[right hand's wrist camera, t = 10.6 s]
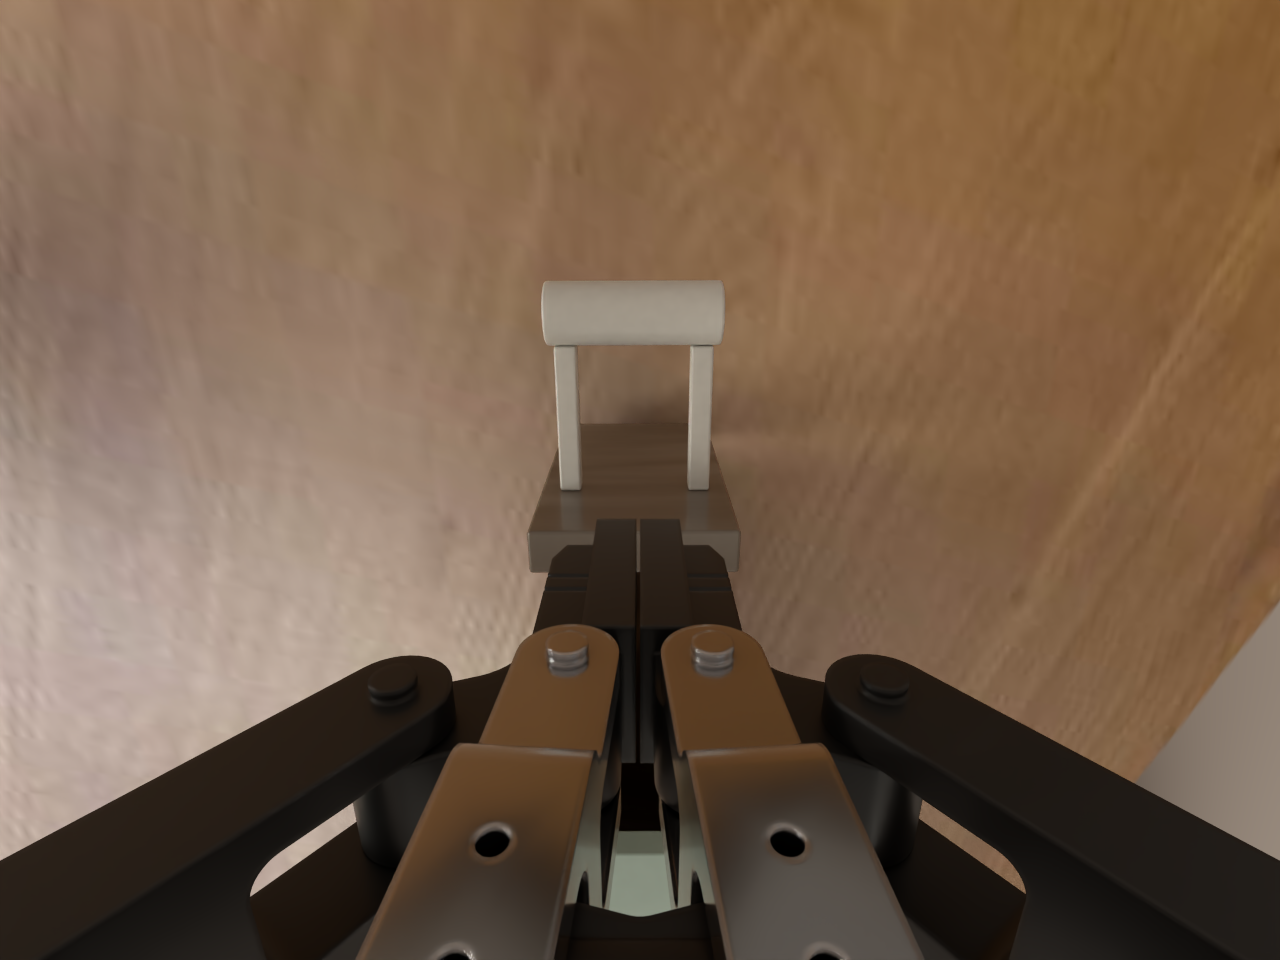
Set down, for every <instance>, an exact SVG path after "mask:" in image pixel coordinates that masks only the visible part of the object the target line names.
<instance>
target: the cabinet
mask: <svg viewBox="0 0 1280 960" xmlns="http://www.w3.org/2000/svg"><path fill="white" fill-rule="evenodd" d="M609 910H611V911H615V912H619V913H622V914H626V915H631V916H649V915H654V914H658V913H661V912H665V911H669V910H671V905H670V897H669V889H668V881H667V873H666V865H665V857H664V849H663V841H662V833H661V831H619V833H618V841H617V849H616V857H615V865H614V873H613V881H612V889H611V897H610V905H609Z"/></svg>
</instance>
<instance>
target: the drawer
mask: <svg viewBox="0 0 1280 960" xmlns="http://www.w3.org/2000/svg"><path fill="white" fill-rule="evenodd" d="M541 313H542V327H543V335H544V339H545V342H546V344H547V345H556V346H555V347H554V366H555V386H556V407H557V427H558V449H557V452H556V455H555V458H554V460H553V463H552V466H551V469H550V471H549V474H548V477H547V480H546V482H545V485H544V488H543V491H542V494H541V496H540V499H539V502H538V505H537V507H536V510H535V513H534V516H533V519H532V521H531V524H530V527H529V530H528V532H527V540H528V555H529V569H530V571H531V572H549V569H550V565H551V561H552V558H553V557H554V556H555V555H557V554H558V553H559V552H560V551H561V550H562V549H563V548H564V547H565V546H567V545H593V542H594V535H595V528H596V521H597V518H636V520H637V646H636V763H621V817H620V825H619V831H661V825H660V817H659V794H658V792H657V790H656V787H655V780H654V763H640V519H680V525H681V532H682V540H683V545H710V546H711V547H712V548H713V549H714V550H715V551H716V552H718V553H719V554H720V555H721V556H722V557H723V558H724V560H725V564H726V568H727V572H737V571H738V569H739V557H740V539H741V532H740V529H739V526H738V523H737V520H736V516H735V513H734V510H733V507H732V504H731V501H730V498H729V495H728V492H727V489H726V485H725V482H724V479H723V476H722V473H721V470H720V467H719V464H718V461H717V457H716V454H715V451H714V448H713V445H712V442H711V413H712V385H713V357H714V348H713V346H712V345H719V344H721V342H722V339H723V334H724V325H725V290H724V285H723V282H722V281H721V280H596V281H545V282H544V284H543V288H542V298H541ZM577 345H690V379H689V423H688V424H580V402H579V375H578V347H577Z"/></svg>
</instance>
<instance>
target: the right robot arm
mask: <svg viewBox="0 0 1280 960" xmlns="http://www.w3.org/2000/svg"><path fill="white" fill-rule="evenodd" d="M636 646H637V520H636V518H597V521H596V528H595V535H594V542H593V545H567V546H565V547H564V548H563V549H562V550H561V551H560V552H559V553H558V554H557V555H555V556H554V557H553V558H552V561H551V565H550V569H549V573H548V577H547V580H546V584H545V591H544V592H543V596H542V600H541V604H540V608H539V611H538V615H537V619H536V623H535V627H534V631H533V634H532V635H530V636H529V637H528V638H526V639H525V640H524V641H523V642H522V643H521V644H520V645H519V647H518V649H517V651H516V653H515V656H514V658H513V661H512V663H511V664H509V665H508V666H506V667H504V668H502V669H499V670H497V671H494V672H492V673H489V674H485V675H481V676H477V677H472V678H468V679H463V680H458V681H453V682H452V676H451V673H450V671H449V669H448V668H447V667H446V666H445V665H444V664H443V663H441V662H439V661H437V660H435V659H432V658H429V657H423V656H399V657H393V658H389V659H385V660H381V661H378V662H376V663H373V664H371V665H368V666H366V667H364V668H362V669H360V670H358V671H357V672H355V673H353V674H351V675H349V676H347V677H345V678H343V679H341V680H340V681H338V682H336V683H334V684H332V685H330V686H328V687H326V688H325V689H323V690H321V691H319V692H317V693H315V694H313V695H311V696H309V697H308V698H306V699H304V700H302V701H300V702H298V703H296V704H294V705H293V706H291V707H289V708H287V709H285V710H283V711H281V712H279V713H277V714H276V715H274V716H272V717H270V718H268V719H266V720H264V721H262V722H261V723H259V724H257V725H255V726H253V727H251V728H249V729H247V730H245V731H244V732H242V733H240V734H238V735H236V736H234V737H232V738H230V739H229V740H227V741H225V742H223V743H221V744H219V745H217V746H215V747H213V748H212V749H210V750H208V751H206V752H204V753H202V754H200V755H198V756H197V757H195V758H193V759H191V760H189V761H187V762H185V763H183V764H181V765H180V766H178V767H176V768H174V769H172V770H170V771H168V772H166V773H165V774H163V775H161V776H159V777H157V778H155V779H153V780H151V781H149V782H148V783H146V784H144V785H142V786H140V787H138V788H136V789H134V790H133V791H131V792H129V793H127V794H125V795H123V796H121V797H119V798H117V799H116V800H114V801H112V802H110V803H108V804H106V805H104V806H102V807H101V808H99V809H97V810H95V811H93V812H91V813H89V814H87V815H85V816H84V817H82V818H80V819H78V820H76V821H74V822H72V823H70V824H69V825H67V826H65V827H63V828H61V829H59V830H57V831H55V832H53V833H52V834H50V835H48V836H46V837H44V838H42V839H40V840H38V841H37V842H35V843H33V844H31V845H29V846H27V847H25V848H23V849H21V850H20V851H18V852H16V853H14V854H12V855H10V856H8V857H6V858H5V859H3V860H1V861H0V960H1280V861H1279V860H1277V859H1275V858H1274V857H1272V856H1270V855H1268V854H1266V853H1264V852H1262V851H1260V850H1259V849H1257V848H1255V847H1253V846H1251V845H1249V844H1247V843H1245V842H1243V841H1241V840H1240V839H1238V838H1236V837H1234V836H1232V835H1230V834H1228V833H1226V832H1225V831H1223V830H1221V829H1219V828H1217V827H1215V826H1213V825H1211V824H1210V823H1208V822H1206V821H1204V820H1202V819H1200V818H1198V817H1196V816H1194V815H1193V814H1191V813H1189V812H1187V811H1185V810H1183V809H1181V808H1179V807H1178V806H1176V805H1174V804H1172V803H1170V802H1168V801H1166V800H1164V799H1163V798H1161V797H1159V796H1157V795H1155V794H1153V793H1151V792H1149V791H1147V790H1145V789H1144V788H1142V787H1140V786H1138V785H1136V784H1134V783H1132V782H1131V781H1129V780H1127V779H1125V778H1123V777H1121V776H1119V775H1117V774H1115V773H1114V772H1112V771H1110V770H1108V769H1106V768H1104V767H1102V766H1100V765H1099V764H1097V763H1095V762H1093V761H1091V760H1089V759H1087V758H1085V757H1083V756H1082V755H1080V754H1078V753H1076V752H1074V751H1072V750H1070V749H1068V748H1067V747H1065V746H1063V745H1061V744H1059V743H1057V742H1055V741H1053V740H1051V739H1050V738H1048V737H1046V736H1044V735H1042V734H1040V733H1038V732H1036V731H1035V730H1033V729H1031V728H1029V727H1027V726H1025V725H1023V724H1021V723H1019V722H1018V721H1016V720H1014V719H1012V718H1010V717H1008V716H1006V715H1004V714H1003V713H1001V712H999V711H997V710H995V709H993V708H991V707H989V706H987V705H986V704H984V703H982V702H980V701H978V700H976V699H974V698H972V697H971V696H969V695H967V694H965V693H963V692H961V691H959V690H957V689H955V688H954V687H952V686H950V685H948V684H946V683H944V682H942V681H940V680H939V679H937V678H935V677H933V676H931V675H929V674H927V673H925V672H923V671H922V670H920V669H918V668H916V667H914V666H912V665H910V664H908V663H906V662H903V661H900V660H897V659H894V658H890V657H886V656H881V655H872V654H858V655H852V656H848V657H844V658H842V659H840V660H837V661H836V662H835V663H833V664H832V665H831V666H830V667H829V669H828V670H827V673H826V677H825V682H820V681H816V680H811V679H806V678H802V677H797V676H793V675H789V674H786V673H783V672H780V671H777V670H775V669H773V668H771V667H770V665H769V663H768V661H767V658H766V656H765V653H764V651H763V649H762V647H761V645H760V644H759V643H758V642H757V641H756V640H755V639H754V638H752V637H751V636H750V635H748V634H746V633H745V632H742V628H741V624H740V620H739V616H738V612H737V608H736V604H735V600H734V596H733V592H732V591H731V584H730V580H729V578H728V572H727V568H726V564H725V560H724V558H723V557H722V556H721V555H720V554H719V553H718V552H716V551H715V550H714V549H713V548H712V547H711V546H710V545H683V540H682V532H681V525H680V519H640V763H654V780H655V787H656V790H657V792H658V794H659V817H660V825H661V833H662V841H663V849H664V857H665V865H666V873H667V881H668V889H669V897H670V905H671V910H669V911H665V912H661V913H658V914H654V915H649V916H631V915H626V914H622V913H619V912H615V911H611V910H609V905H610V897H611V889H612V881H613V873H614V865H615V857H616V849H617V841H618V833H619V825H620V817H621V763H636ZM922 800H924V801H926V802H927V803H929V804H930V805H932V806H933V807H935V808H936V809H938V810H939V811H941V812H942V813H943V814H945V815H946V816H948V817H949V818H951V819H952V820H954V821H955V822H957V823H958V824H960V825H961V826H962V827H964V828H965V829H967V830H968V831H970V832H971V833H973V834H974V835H976V836H977V837H979V838H980V839H982V840H983V841H984V842H986V843H987V844H989V845H990V846H992V847H993V848H995V849H996V850H997V851H999V852H1000V853H1001V854H1003V855H1004V856H1005V857H1006V858H1007V859H1008V860H1009V861H1010V862H1011V864H1012V865H1013V866H1014V867H1015V869H1016V870H1017V871H1018V873H1019V875H1020V877H1021V878H1022V881H1023V883H1024V886H1025V890H1026V894H1025V893H1023V892H1022V891H1020V890H1019V889H1018V888H1016V887H1015V886H1013V885H1012V884H1011V883H1009V882H1008V881H1006V880H1005V879H1003V878H1002V877H1001V876H999V875H998V874H996V873H995V872H994V871H992V870H991V869H989V868H988V867H987V866H985V865H984V864H982V863H981V862H979V861H978V860H977V859H975V858H974V857H972V856H971V855H970V854H968V853H967V852H965V851H964V850H963V849H961V848H960V847H958V846H957V845H955V844H954V843H953V842H951V841H950V840H948V839H947V838H946V837H944V836H943V835H941V834H940V833H938V832H937V831H936V830H934V829H933V828H931V827H930V826H929V825H927V824H926V823H924V822H923V821H922V820H920V819H919V815H920V810H921V805H922ZM351 803H353V806H354V811H355V816H356V821H357V822H356V823H354V824H353V825H351V826H350V827H349V828H347V829H346V830H344V831H343V832H341V833H340V834H339V835H337V836H336V837H334V838H333V839H332V840H330V841H329V842H327V843H326V844H325V845H323V846H322V847H320V848H319V849H317V850H316V851H315V852H313V853H312V854H310V855H309V856H308V857H306V858H305V859H303V860H302V861H301V862H299V863H298V864H296V865H295V866H293V867H292V868H291V869H289V870H288V871H286V872H285V873H284V874H282V875H281V876H279V877H278V878H277V879H275V880H274V881H272V882H271V883H269V884H268V885H267V886H265V887H264V888H262V889H261V890H260V891H258V892H257V893H255V894H254V895H252V896H251V897H250V892H251V889H252V886H253V883H254V881H255V879H256V878H257V876H258V874H259V873H260V871H261V870H262V869H263V867H264V866H265V865H266V864H267V863H268V862H269V861H270V860H271V859H272V858H273V857H274V856H276V855H277V854H278V853H279V852H281V851H282V850H284V849H285V848H287V847H288V846H290V845H291V844H293V843H294V842H295V841H297V840H298V839H300V838H301V837H303V836H304V835H306V834H307V833H309V832H310V831H312V830H313V829H315V828H316V827H317V826H319V825H320V824H322V823H323V822H325V821H326V820H328V819H329V818H331V817H332V816H334V815H335V814H337V813H338V812H339V811H341V810H342V809H344V808H345V807H347V806H348V805H350V804H351Z"/></svg>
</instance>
